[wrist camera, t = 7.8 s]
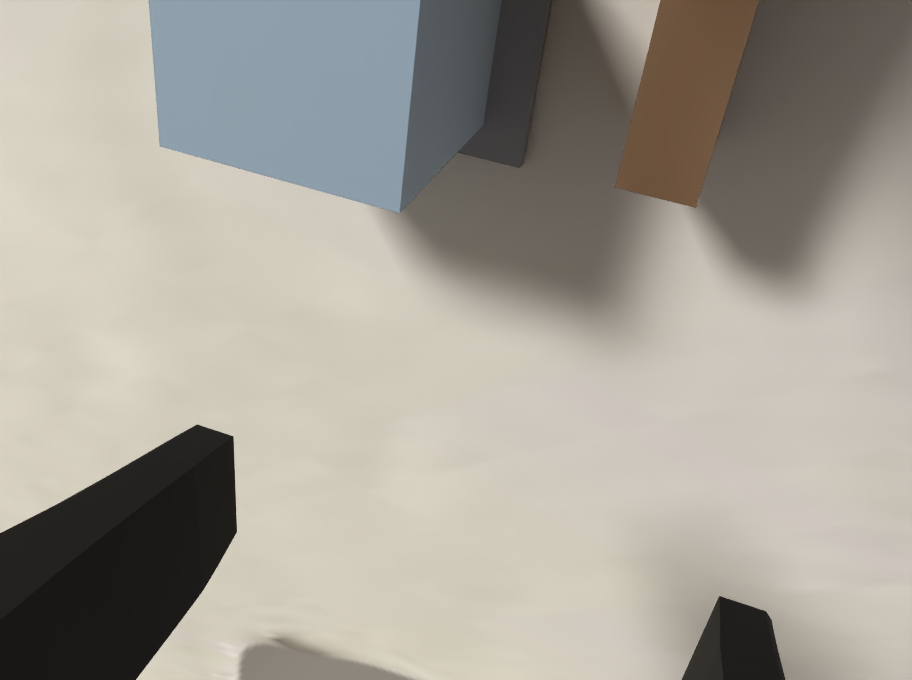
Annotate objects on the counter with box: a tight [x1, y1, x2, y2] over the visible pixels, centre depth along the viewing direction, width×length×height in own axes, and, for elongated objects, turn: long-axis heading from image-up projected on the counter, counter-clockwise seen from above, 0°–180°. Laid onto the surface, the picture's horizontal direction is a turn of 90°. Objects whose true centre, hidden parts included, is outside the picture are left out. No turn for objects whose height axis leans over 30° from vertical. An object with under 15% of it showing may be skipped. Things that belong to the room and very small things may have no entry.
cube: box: [149, 0, 502, 213], centre depth 17 cm, size 5×5×5 cm
